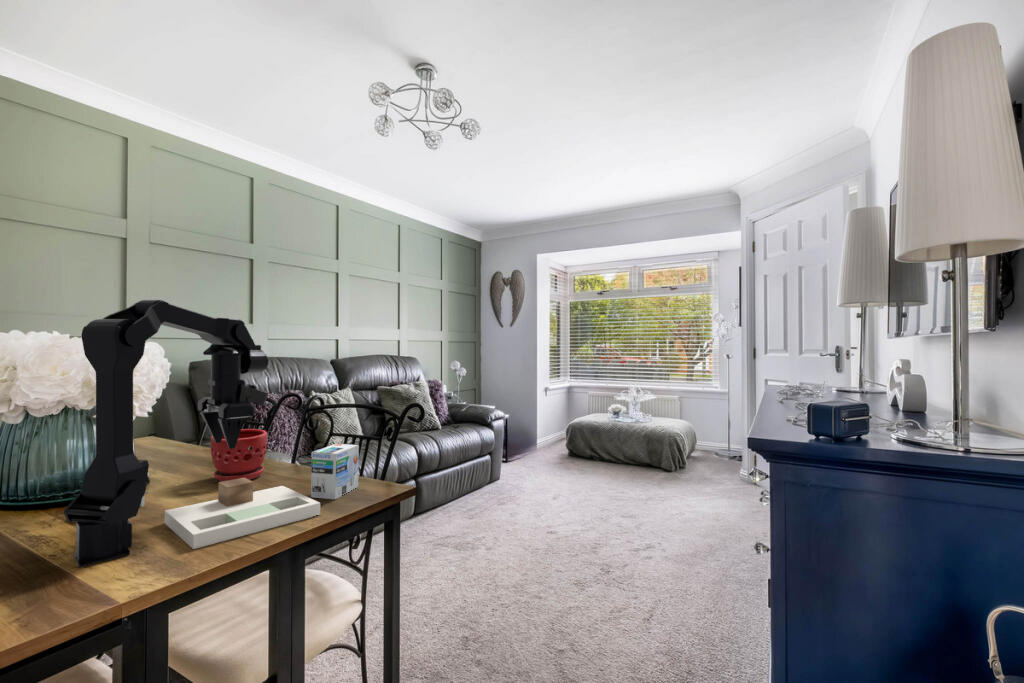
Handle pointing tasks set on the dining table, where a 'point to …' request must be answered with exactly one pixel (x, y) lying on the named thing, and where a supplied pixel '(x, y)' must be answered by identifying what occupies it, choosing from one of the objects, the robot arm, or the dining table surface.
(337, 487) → the light bulb box
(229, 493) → the walnut block
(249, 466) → the plant pot
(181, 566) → the dining table surface
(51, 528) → the dining table surface
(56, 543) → the dining table surface
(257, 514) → the tray
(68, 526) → the dining table surface
